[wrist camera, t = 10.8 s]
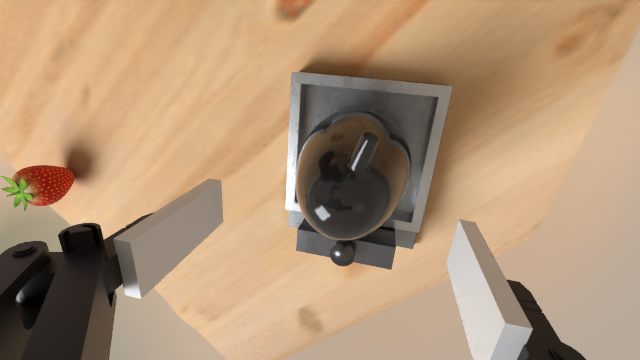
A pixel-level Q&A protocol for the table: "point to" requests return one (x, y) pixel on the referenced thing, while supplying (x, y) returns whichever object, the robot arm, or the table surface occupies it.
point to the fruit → (40, 185)
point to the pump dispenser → (352, 173)
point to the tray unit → (415, 123)
